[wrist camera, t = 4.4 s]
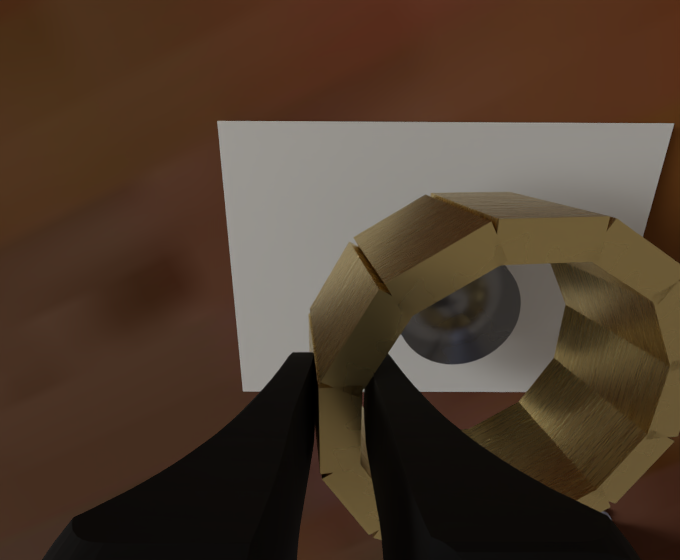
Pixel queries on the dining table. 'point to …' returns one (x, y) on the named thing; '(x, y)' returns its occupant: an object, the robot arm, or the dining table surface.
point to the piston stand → (392, 195)
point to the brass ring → (557, 378)
